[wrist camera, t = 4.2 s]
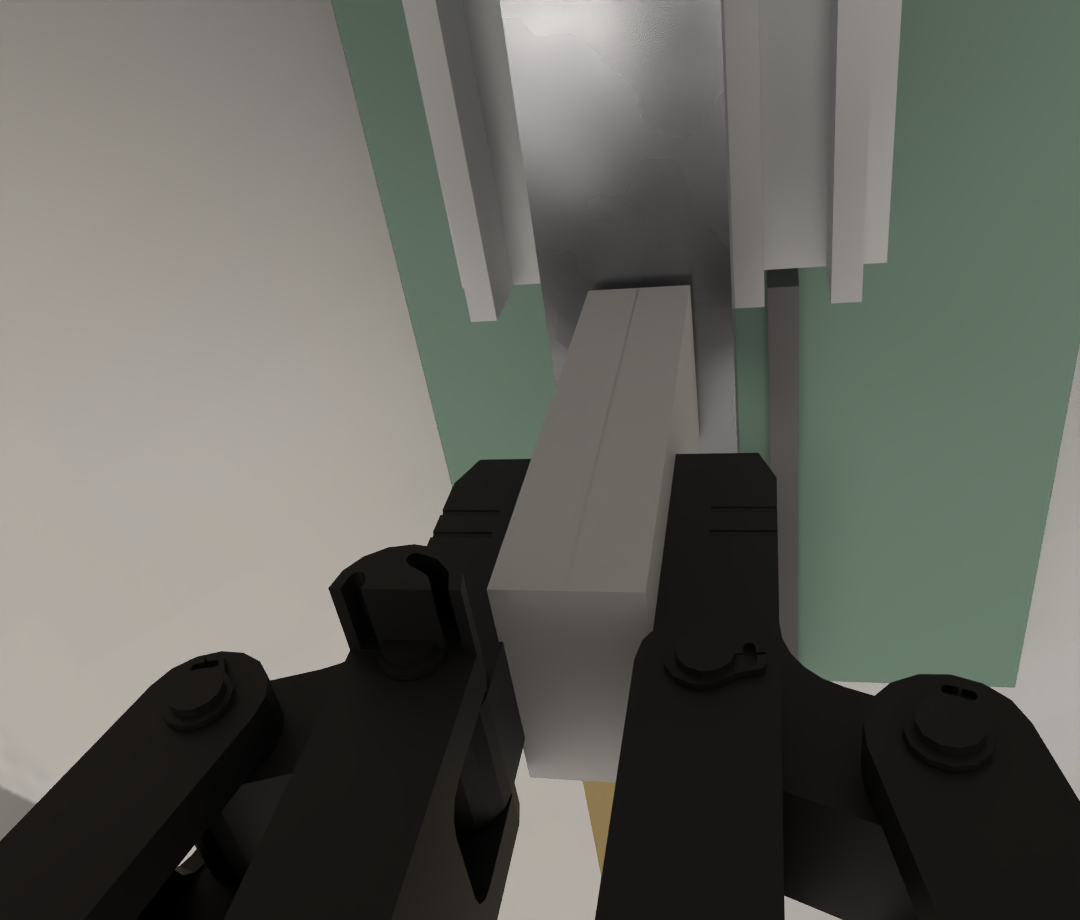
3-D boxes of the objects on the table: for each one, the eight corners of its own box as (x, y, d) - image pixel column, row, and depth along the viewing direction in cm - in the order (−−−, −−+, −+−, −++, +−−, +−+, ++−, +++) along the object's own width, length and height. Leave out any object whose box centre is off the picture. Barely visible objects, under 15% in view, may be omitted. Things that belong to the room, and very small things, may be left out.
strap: (378, -939, 9) (307, -1082, 8) (709, -1061, 9) (699, -1247, 7) (584, 537, 19) (569, 597, 17) (754, 537, 18) (754, 601, 16)
